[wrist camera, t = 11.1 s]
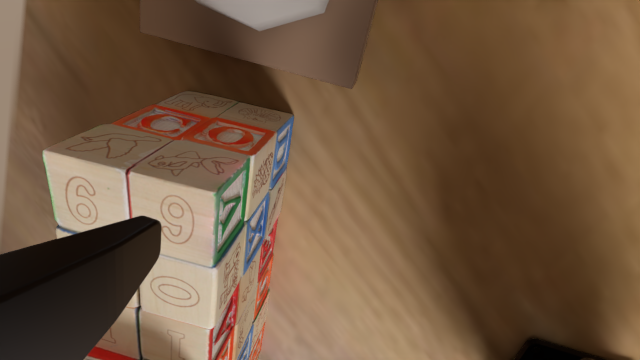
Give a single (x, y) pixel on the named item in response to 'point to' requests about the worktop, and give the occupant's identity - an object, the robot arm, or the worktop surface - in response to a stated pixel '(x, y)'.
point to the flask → (266, 11)
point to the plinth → (272, 37)
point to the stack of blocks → (183, 219)
